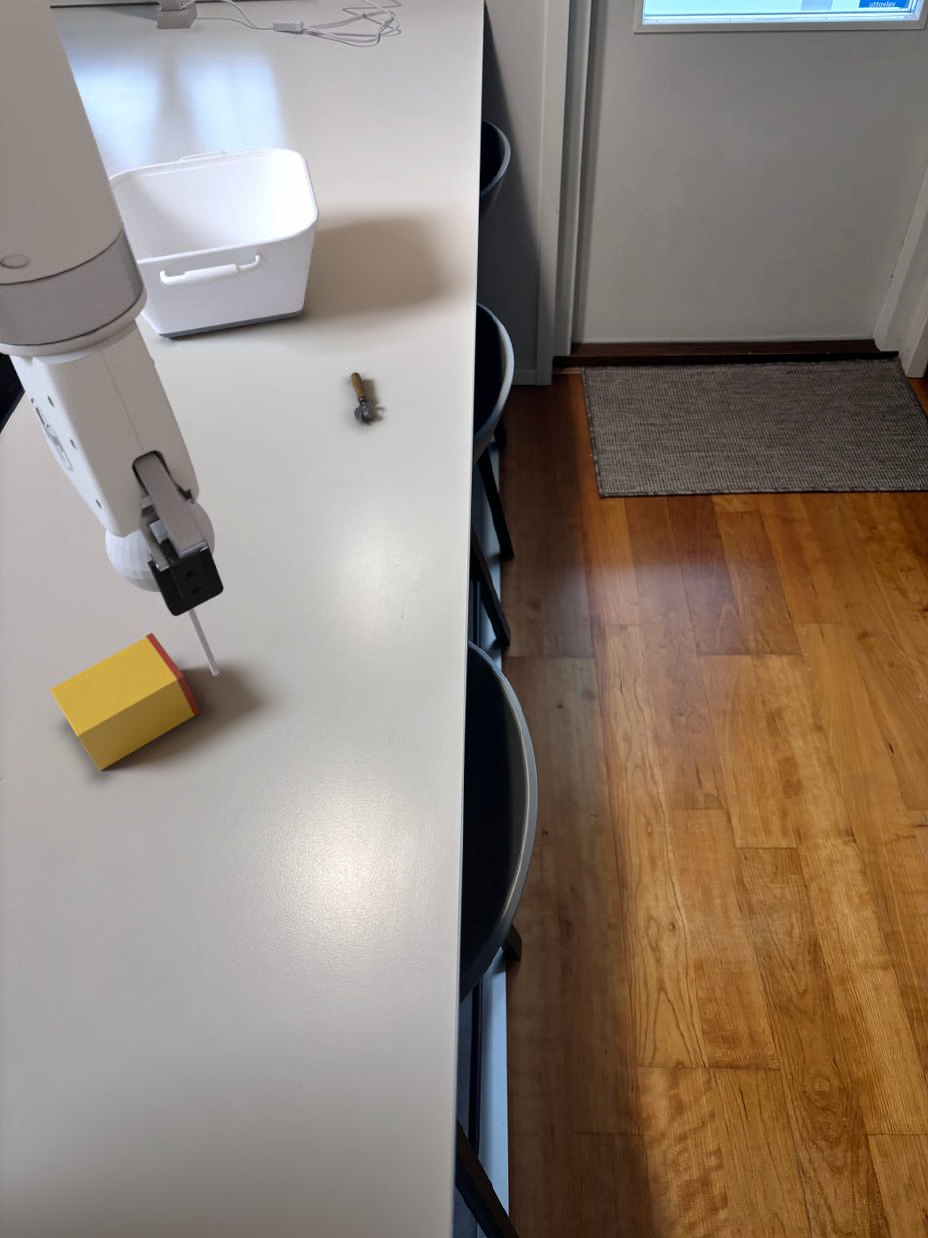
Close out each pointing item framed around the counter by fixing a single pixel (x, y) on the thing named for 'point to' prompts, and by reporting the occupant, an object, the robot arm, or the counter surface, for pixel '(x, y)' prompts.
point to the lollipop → (134, 556)
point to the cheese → (126, 701)
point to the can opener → (360, 398)
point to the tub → (220, 237)
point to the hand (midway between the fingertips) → (170, 565)
